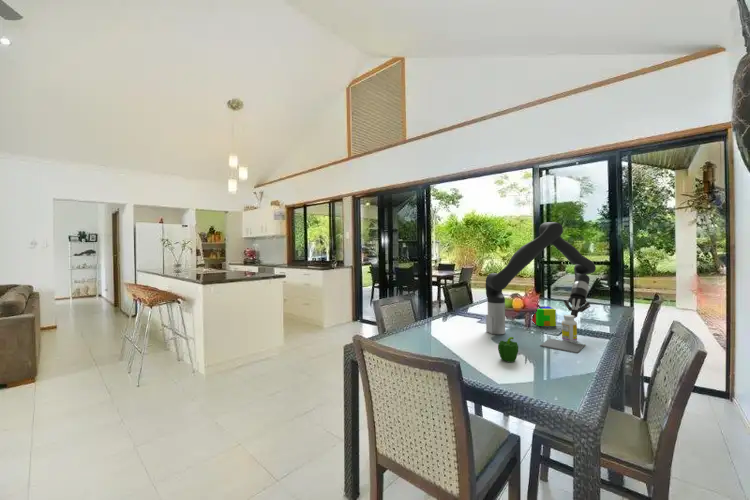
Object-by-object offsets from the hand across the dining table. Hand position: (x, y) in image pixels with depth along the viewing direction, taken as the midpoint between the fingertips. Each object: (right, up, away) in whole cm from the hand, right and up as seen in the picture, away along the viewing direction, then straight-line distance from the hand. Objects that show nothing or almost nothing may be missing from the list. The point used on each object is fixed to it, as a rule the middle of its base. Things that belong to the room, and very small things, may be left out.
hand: (573, 317), depth 178 cm
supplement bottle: (-6, -11, -6) cm, 14 cm away
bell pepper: (-47, -13, -31) cm, 57 cm away
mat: (-14, -11, -14) cm, 23 cm away
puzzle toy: (-3, -10, +26) cm, 28 cm away
